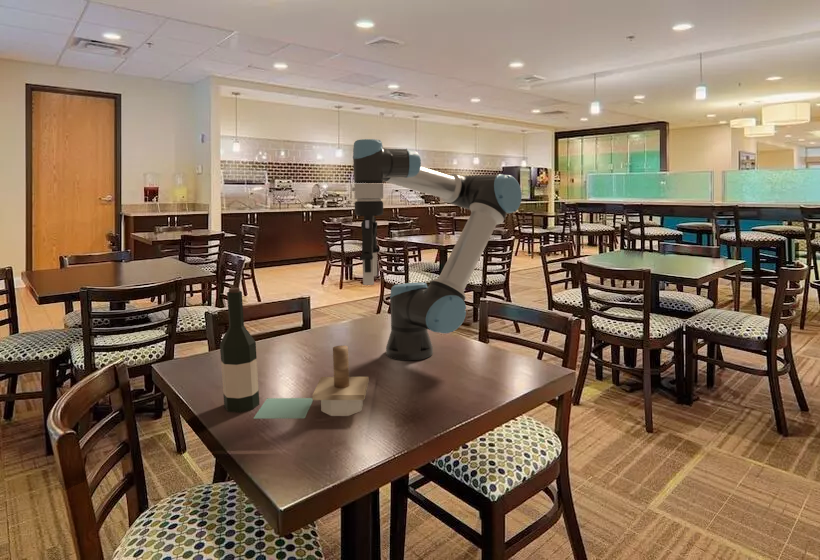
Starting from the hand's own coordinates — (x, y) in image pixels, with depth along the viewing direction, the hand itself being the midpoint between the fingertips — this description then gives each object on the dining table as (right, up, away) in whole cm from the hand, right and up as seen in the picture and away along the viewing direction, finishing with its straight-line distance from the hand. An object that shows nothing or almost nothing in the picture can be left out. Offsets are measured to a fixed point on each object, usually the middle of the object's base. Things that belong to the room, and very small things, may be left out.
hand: (370, 280), depth 144 cm
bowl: (-6, -32, -14) cm, 35 cm away
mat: (-20, -32, -14) cm, 40 cm away
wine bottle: (-31, -32, -12) cm, 46 cm away
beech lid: (-6, -27, -14) cm, 31 cm away
